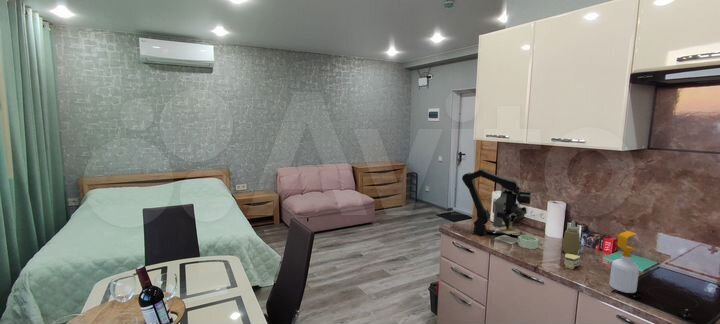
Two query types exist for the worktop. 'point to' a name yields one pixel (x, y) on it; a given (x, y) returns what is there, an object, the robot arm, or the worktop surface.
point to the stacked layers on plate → (571, 260)
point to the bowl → (528, 241)
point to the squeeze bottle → (571, 239)
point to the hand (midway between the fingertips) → (508, 227)
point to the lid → (509, 229)
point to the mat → (507, 239)
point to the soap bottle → (624, 267)
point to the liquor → (499, 209)
